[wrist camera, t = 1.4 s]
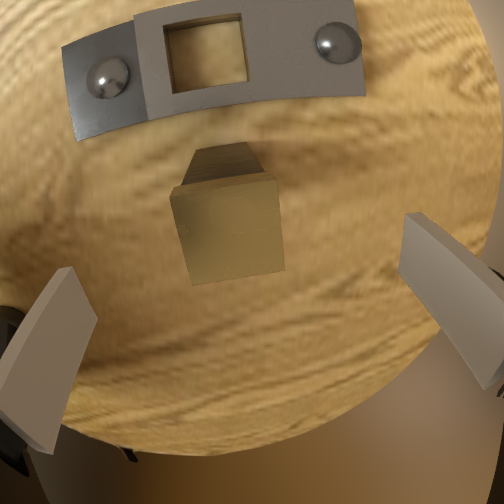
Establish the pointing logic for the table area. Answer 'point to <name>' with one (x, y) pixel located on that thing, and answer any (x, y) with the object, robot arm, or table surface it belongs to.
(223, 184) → the link pin
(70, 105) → the plate
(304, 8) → the plate
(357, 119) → the table surface
